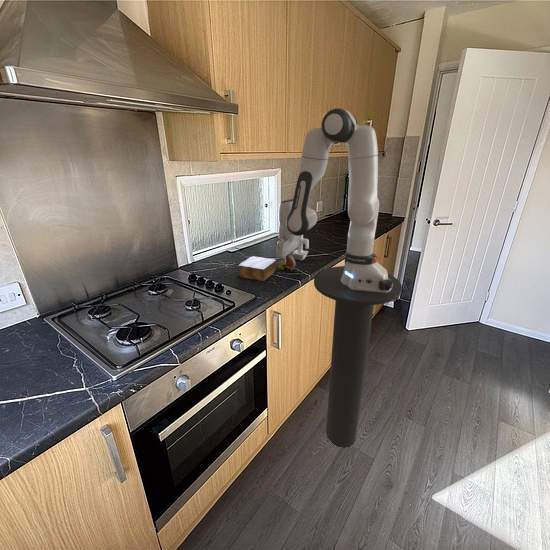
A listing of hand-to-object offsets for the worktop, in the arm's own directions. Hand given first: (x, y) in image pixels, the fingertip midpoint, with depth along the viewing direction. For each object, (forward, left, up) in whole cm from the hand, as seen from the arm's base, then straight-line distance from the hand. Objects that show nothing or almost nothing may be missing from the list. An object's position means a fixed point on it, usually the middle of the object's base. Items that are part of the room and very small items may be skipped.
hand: (287, 261), depth 145 cm
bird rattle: (0, 0, -5) cm, 5 cm away
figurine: (0, -17, -5) cm, 18 cm away
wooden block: (+11, +11, -4) cm, 16 cm away
